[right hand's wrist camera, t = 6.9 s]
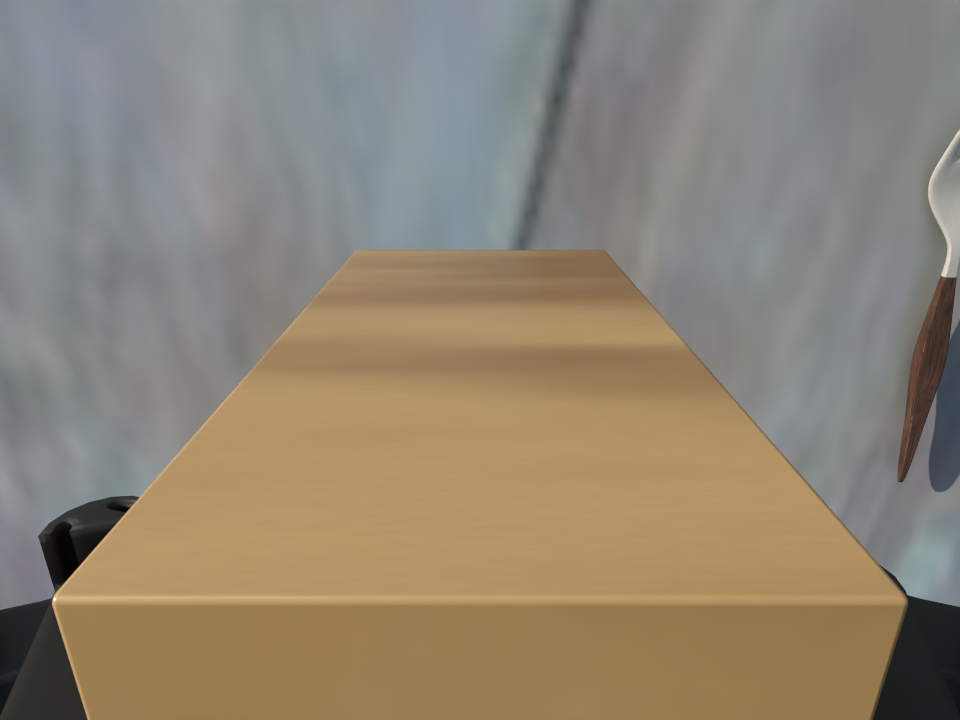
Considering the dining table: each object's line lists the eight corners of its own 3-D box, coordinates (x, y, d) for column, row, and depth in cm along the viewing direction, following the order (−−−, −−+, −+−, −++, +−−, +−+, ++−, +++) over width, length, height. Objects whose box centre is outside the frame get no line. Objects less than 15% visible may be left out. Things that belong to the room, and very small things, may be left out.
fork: (862, 476, 28) (889, 502, 26) (948, 83, 22) (990, 81, 21) (922, 474, 28) (953, 500, 26) (1022, 81, 22) (1072, 78, 21)
